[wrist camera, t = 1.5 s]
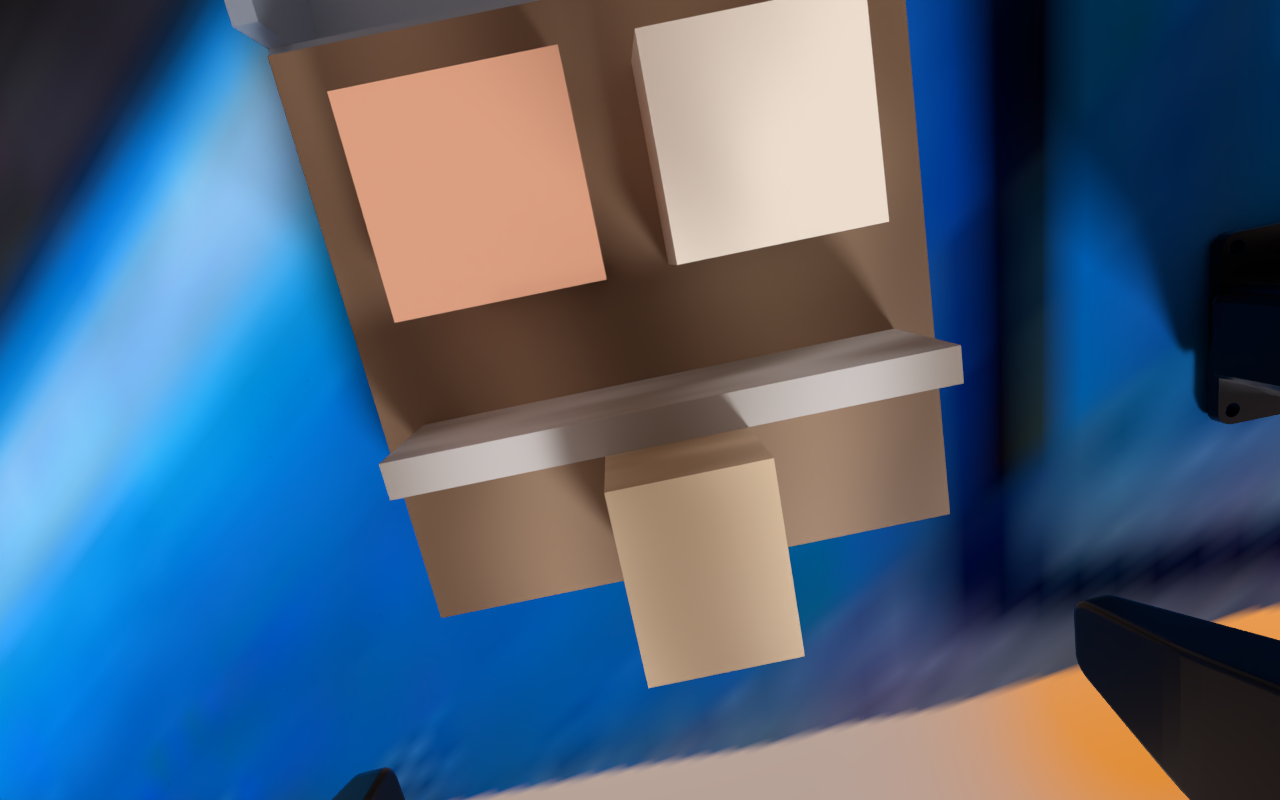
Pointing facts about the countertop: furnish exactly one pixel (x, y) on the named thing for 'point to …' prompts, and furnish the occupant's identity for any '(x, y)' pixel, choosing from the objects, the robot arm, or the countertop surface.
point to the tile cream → (761, 125)
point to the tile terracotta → (471, 182)
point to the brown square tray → (625, 308)
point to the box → (341, 18)
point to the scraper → (687, 483)
